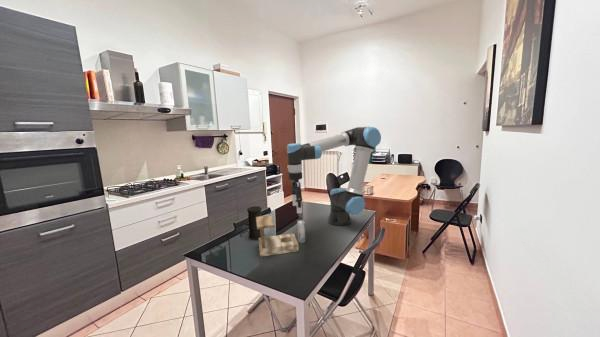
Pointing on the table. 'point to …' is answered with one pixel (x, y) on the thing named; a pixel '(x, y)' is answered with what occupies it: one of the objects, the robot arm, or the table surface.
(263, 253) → the socket station
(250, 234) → the container
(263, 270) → the table surface
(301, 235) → the peg
